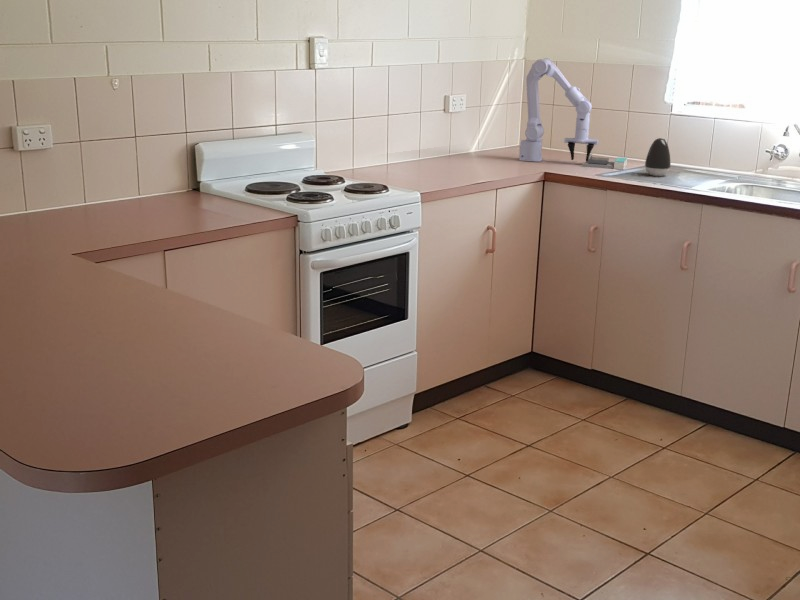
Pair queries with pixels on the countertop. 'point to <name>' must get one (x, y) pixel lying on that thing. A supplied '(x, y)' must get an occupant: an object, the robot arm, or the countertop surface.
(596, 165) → the dock
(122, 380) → the countertop surface
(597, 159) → the trolley
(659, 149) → the dark egg-shaped dome
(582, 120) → the robot arm
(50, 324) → the countertop surface
